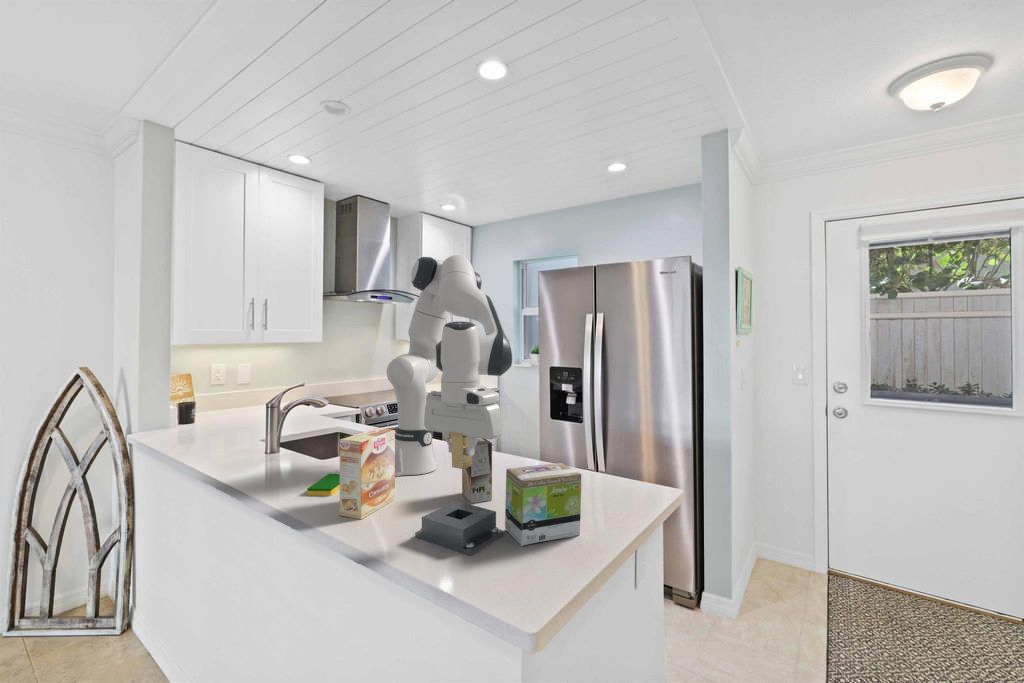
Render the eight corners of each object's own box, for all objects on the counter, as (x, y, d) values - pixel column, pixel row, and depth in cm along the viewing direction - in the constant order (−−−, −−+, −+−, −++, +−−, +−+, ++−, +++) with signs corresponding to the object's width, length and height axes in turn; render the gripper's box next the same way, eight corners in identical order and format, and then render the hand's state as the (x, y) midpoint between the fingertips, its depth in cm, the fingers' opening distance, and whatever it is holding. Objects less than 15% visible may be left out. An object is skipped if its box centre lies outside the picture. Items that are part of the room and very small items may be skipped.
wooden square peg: (450, 467, 107) (449, 432, 107) (460, 463, 110) (460, 429, 110) (463, 469, 105) (462, 434, 104) (473, 465, 108) (472, 430, 108)
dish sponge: (351, 481, 147) (351, 473, 147) (331, 497, 133) (331, 489, 133) (329, 481, 147) (329, 473, 147) (306, 497, 134) (306, 488, 133)
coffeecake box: (361, 520, 117) (361, 441, 116) (338, 516, 119) (337, 439, 118) (396, 499, 131) (396, 429, 130) (375, 496, 133) (374, 427, 132)
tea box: (522, 548, 102) (522, 480, 101) (504, 529, 111) (504, 467, 111) (581, 536, 108) (582, 472, 107) (560, 519, 117) (560, 460, 117)
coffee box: (493, 500, 130) (493, 442, 129) (471, 504, 127) (470, 444, 127) (481, 489, 138) (481, 435, 138) (460, 493, 136) (460, 437, 135)
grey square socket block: (415, 536, 107) (415, 515, 107) (450, 519, 117) (450, 499, 117) (470, 555, 98) (470, 532, 98) (503, 534, 108) (503, 513, 108)
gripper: (417, 391, 110) (418, 450, 110) (488, 398, 99) (489, 463, 99) (435, 388, 115) (436, 445, 116) (505, 394, 104) (506, 456, 104)
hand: (461, 453), depth 107 cm, fingers closed on wooden square peg, 3 cm apart
